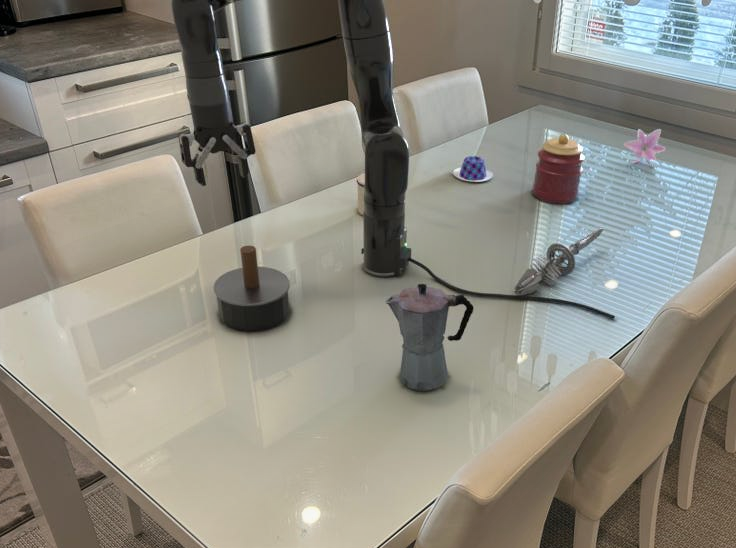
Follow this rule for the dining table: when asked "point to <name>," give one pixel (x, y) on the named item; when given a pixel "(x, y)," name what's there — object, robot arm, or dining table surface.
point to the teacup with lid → (360, 192)
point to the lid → (251, 282)
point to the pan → (254, 315)
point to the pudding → (473, 170)
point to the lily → (646, 145)
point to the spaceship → (553, 264)
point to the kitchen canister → (558, 170)
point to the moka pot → (425, 333)
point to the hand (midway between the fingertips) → (223, 180)
